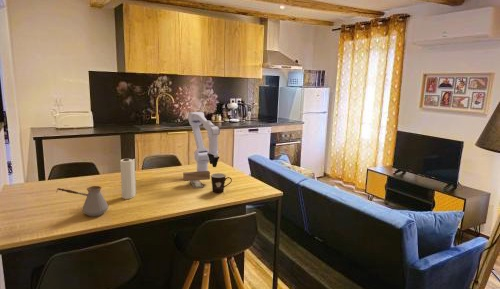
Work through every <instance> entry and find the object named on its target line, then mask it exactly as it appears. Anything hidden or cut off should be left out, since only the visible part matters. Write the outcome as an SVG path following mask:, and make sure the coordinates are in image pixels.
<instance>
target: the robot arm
mask: <svg viewBox="0 0 500 289" xmlns="http://www.w3.org/2000/svg"><path fill="white" fill-rule="evenodd" d="M187 119H188V122H189V126H191V129H192V134H193V138H194V141H195V145H196V149H195V151H194V160H195V162H196V172H197V171H209V166H208V165H209V164H210V165H212V167H213V168H217V165H218V161H219V159H220V156H218V154H220V151H219V147H218V146H219V135H220V134H221V132H220V131H221V129H220V127H219V126H218V125H217V126H216V125H215V124H214V123H212V121H211V120H207V118H206V117H205V113H204V111H190V112H188V116H187ZM201 125H202V127H203V129H205V130H206V131H207V137H208V148H207V147H205V144H204V141H203V140H204V139H203V135H202V133H201V132H202V131H201V128H200V126H201ZM208 163H209V164H208Z"/></svg>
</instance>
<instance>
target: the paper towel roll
mask: <svg viewBox="0 0 500 289" xmlns="http://www.w3.org/2000/svg"><path fill="white" fill-rule="evenodd" d="M119 162H120V164H119V165H120V179H121V180H120V184H121V186H120V187H121V198H122V199H125V200H128V199H132V198H134V197H135V196H136V195H137V182H136V181H137V180H136V158H133V159H132V158H123V159H120V161H119Z"/></svg>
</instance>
